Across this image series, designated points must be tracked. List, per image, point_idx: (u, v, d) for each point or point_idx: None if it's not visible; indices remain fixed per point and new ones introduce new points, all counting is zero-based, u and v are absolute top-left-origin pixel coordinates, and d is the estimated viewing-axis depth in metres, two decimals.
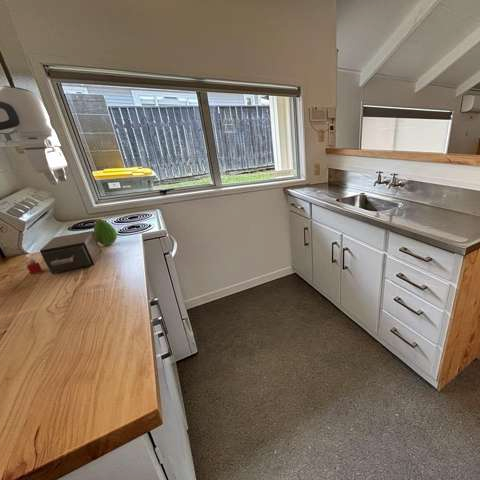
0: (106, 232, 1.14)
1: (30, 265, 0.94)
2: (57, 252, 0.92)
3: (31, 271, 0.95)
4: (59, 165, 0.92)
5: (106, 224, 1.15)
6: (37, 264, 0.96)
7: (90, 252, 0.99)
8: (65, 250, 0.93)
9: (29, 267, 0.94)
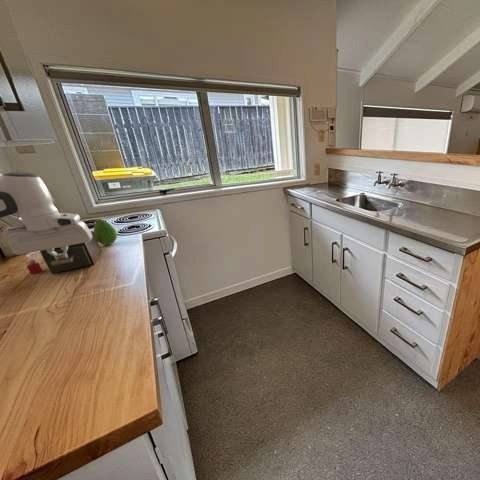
0: (106, 232, 1.14)
1: (30, 265, 0.94)
2: (57, 252, 0.92)
3: (31, 271, 0.95)
4: None
5: (106, 224, 1.15)
6: (37, 264, 0.96)
7: (90, 252, 0.99)
8: None
9: (29, 267, 0.94)
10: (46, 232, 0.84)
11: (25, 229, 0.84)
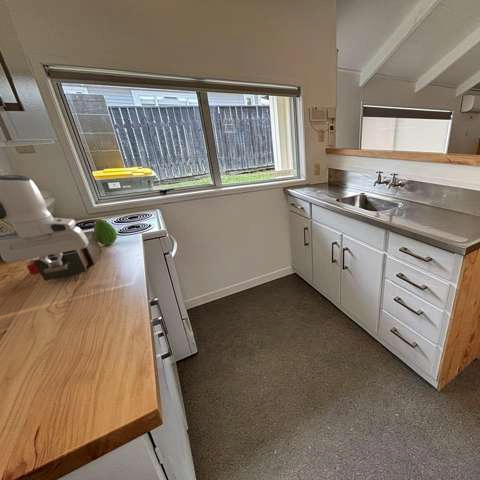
0: (106, 232, 1.14)
1: (30, 265, 0.94)
2: (51, 259, 0.87)
3: (31, 271, 0.95)
4: None
5: (106, 224, 1.15)
6: None
7: (90, 252, 0.99)
8: None
9: (29, 267, 0.94)
10: (39, 238, 0.79)
11: (16, 235, 0.79)
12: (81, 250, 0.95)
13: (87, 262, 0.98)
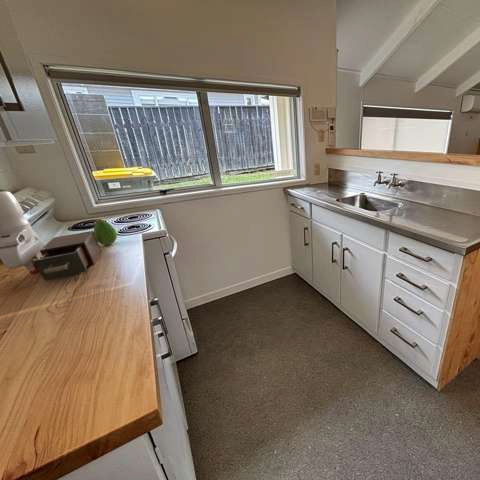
0: (106, 232, 1.14)
1: None
2: (51, 259, 0.87)
3: (31, 271, 0.95)
4: (34, 252, 0.95)
5: (106, 224, 1.15)
6: None
7: (90, 252, 0.99)
8: (59, 257, 0.88)
9: None
10: None
11: None
12: (81, 250, 0.95)
13: (87, 262, 0.98)
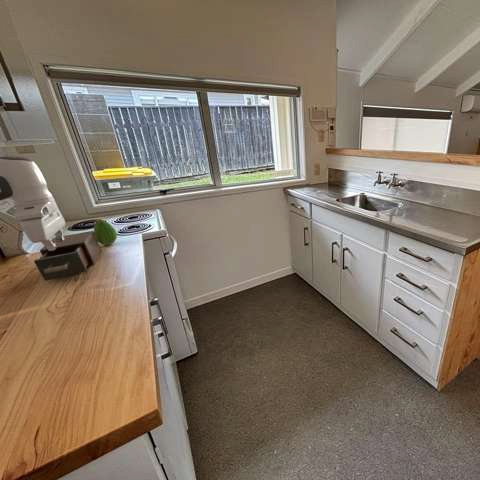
0: (106, 232, 1.14)
1: None
2: (51, 259, 0.87)
3: None
4: (56, 228, 0.89)
5: (106, 224, 1.15)
6: None
7: (90, 252, 0.99)
8: (59, 257, 0.88)
9: None
10: None
11: None
12: (81, 250, 0.95)
13: (87, 262, 0.98)
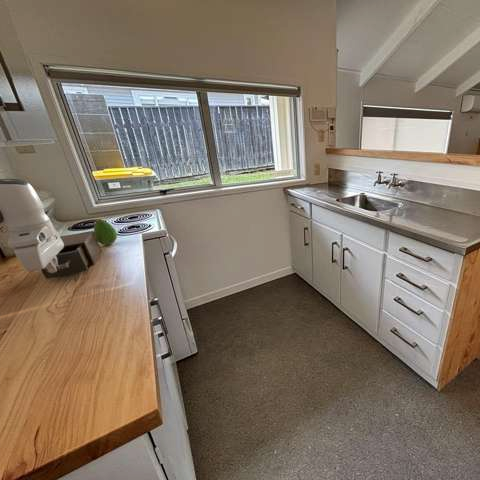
0: (106, 232, 1.14)
1: None
2: None
3: None
4: (54, 253, 0.83)
5: (106, 224, 1.15)
6: None
7: (90, 252, 0.99)
8: (61, 255, 0.89)
9: None
10: None
11: None
12: (82, 249, 0.96)
13: (88, 261, 0.99)
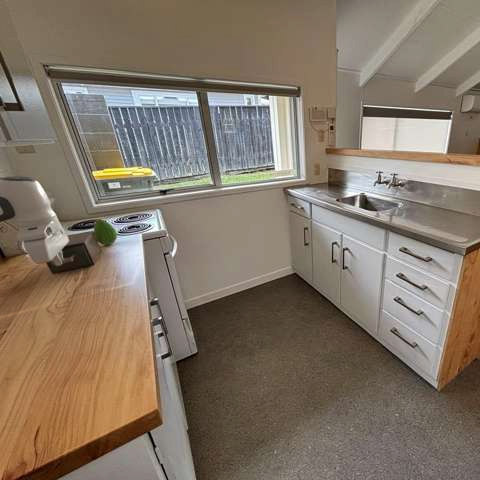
0: (106, 232, 1.14)
1: None
2: None
3: None
4: (60, 247, 0.88)
5: (106, 224, 1.15)
6: None
7: (90, 252, 0.99)
8: (65, 250, 0.94)
9: None
10: None
11: None
12: None
13: None
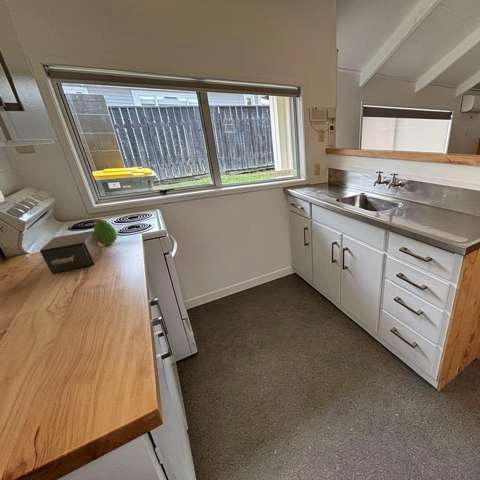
0: (106, 232, 1.14)
1: None
2: (57, 251, 0.93)
3: None
4: None
5: (106, 224, 1.15)
6: None
7: (90, 252, 0.99)
8: (65, 250, 0.94)
9: None
10: None
11: None
12: None
13: None
